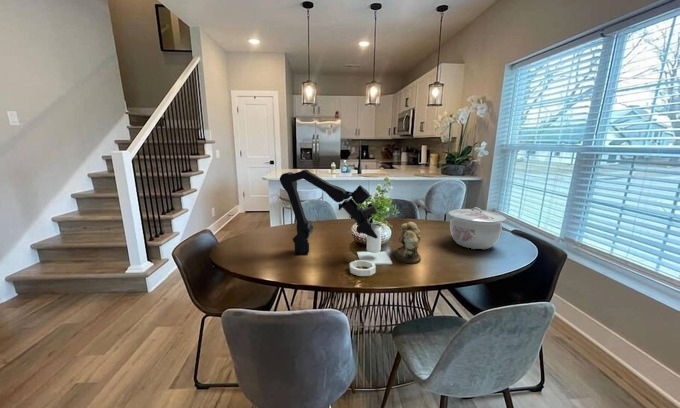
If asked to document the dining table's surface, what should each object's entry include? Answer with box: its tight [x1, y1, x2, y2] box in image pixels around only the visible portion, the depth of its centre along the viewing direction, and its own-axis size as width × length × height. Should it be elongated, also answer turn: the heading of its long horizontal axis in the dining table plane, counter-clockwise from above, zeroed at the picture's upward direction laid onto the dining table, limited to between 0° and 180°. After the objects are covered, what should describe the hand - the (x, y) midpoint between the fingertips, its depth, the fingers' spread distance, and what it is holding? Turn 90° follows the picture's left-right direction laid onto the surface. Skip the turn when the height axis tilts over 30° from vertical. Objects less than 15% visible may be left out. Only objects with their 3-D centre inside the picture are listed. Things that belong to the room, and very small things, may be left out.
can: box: [366, 223, 383, 253], centre depth 131 cm, size 6×6×12 cm
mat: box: [356, 251, 393, 266], centre depth 133 cm, size 14×14×1 cm
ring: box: [349, 259, 377, 277], centre depth 120 cm, size 10×10×2 cm
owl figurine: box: [393, 221, 422, 265], centre depth 134 cm, size 18×12×17 cm, turn 6°
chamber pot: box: [447, 206, 507, 250], centre depth 151 cm, size 28×28×21 cm
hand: (377, 235), depth 131 cm, fingers closed on can, 6 cm apart
